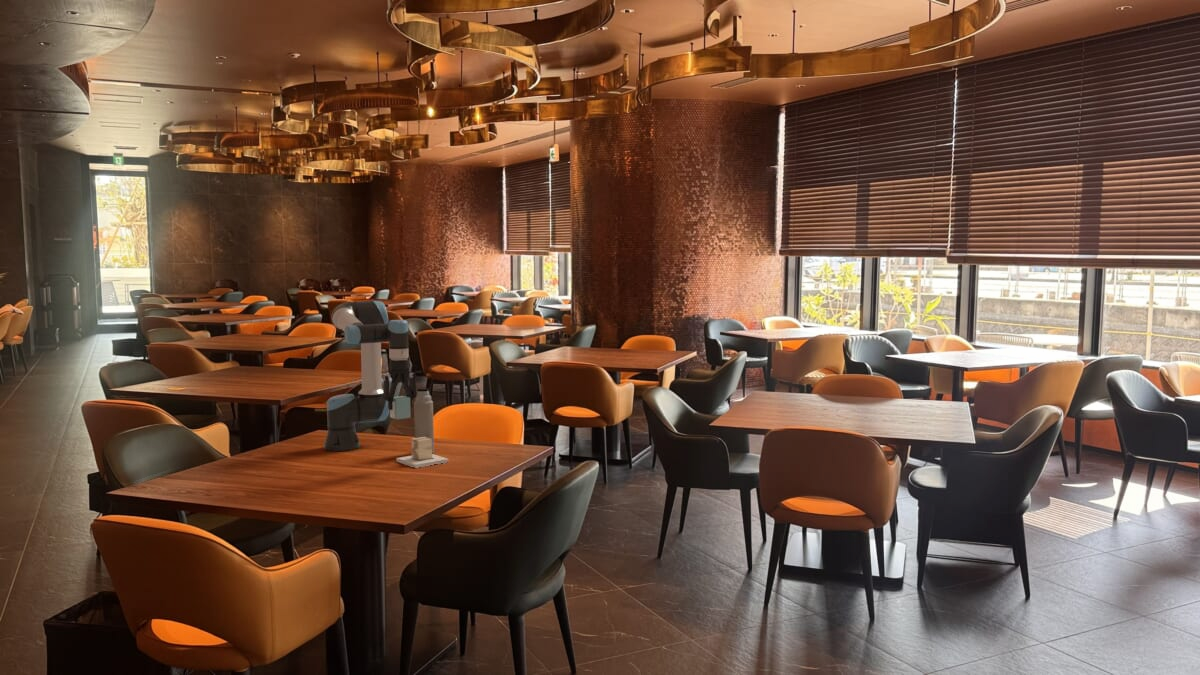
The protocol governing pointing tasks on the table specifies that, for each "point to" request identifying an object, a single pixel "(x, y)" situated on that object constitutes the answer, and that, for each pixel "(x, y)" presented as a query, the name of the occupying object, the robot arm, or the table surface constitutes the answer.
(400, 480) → the table surface
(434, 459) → the base plate
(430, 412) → the thermos bottle
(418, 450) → the maple block
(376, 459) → the table surface
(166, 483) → the table surface
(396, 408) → the teal block
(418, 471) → the table surface
